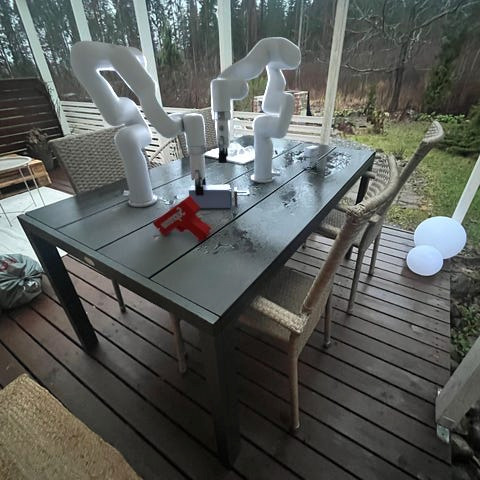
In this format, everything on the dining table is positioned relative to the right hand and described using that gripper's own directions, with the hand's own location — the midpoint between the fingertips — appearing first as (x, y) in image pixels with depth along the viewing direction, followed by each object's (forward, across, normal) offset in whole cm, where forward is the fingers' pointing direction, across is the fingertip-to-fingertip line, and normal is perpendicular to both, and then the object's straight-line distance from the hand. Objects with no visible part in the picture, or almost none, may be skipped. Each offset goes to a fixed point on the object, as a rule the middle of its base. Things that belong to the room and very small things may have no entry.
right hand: (223, 159), depth 115 cm
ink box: (+18, +46, -48) cm, 69 cm away
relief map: (+18, +73, -2) cm, 75 cm away
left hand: (+11, -8, +9) cm, 16 cm away
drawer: (+17, -8, -1) cm, 19 cm away
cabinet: (+18, -8, +6) cm, 21 cm away
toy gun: (+18, -32, +13) cm, 39 cm away
